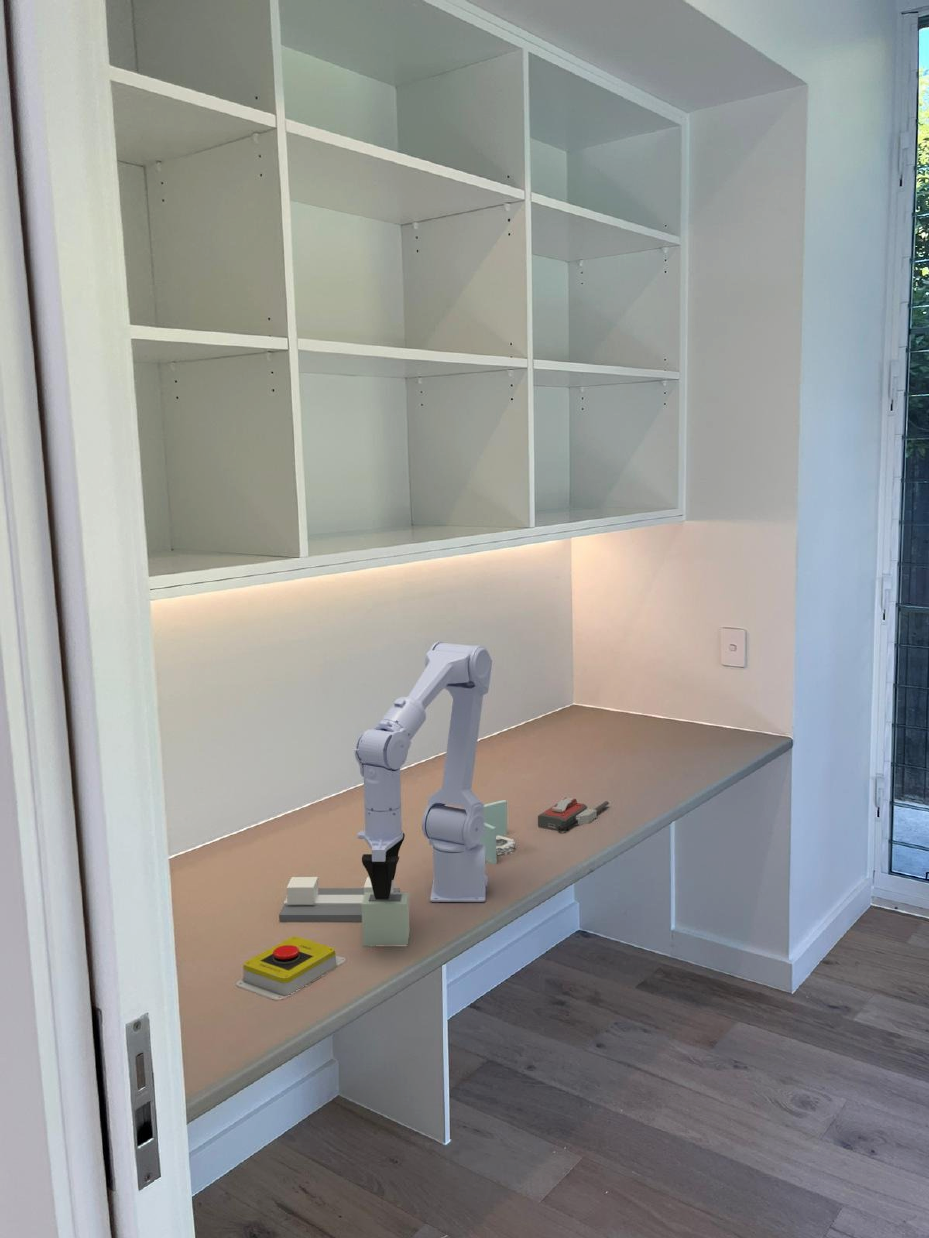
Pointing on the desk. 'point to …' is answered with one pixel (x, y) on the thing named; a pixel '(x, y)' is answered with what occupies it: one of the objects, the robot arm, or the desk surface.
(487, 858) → the l-shaped corner panel
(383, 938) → the block
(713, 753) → the desk surface
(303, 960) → the emergency button
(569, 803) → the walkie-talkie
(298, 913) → the rail board
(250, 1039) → the desk surface
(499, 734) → the desk surface
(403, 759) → the robot arm
